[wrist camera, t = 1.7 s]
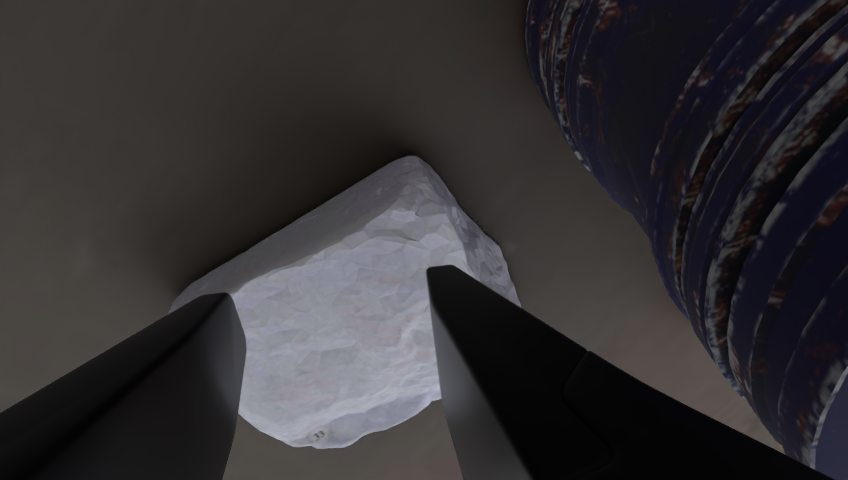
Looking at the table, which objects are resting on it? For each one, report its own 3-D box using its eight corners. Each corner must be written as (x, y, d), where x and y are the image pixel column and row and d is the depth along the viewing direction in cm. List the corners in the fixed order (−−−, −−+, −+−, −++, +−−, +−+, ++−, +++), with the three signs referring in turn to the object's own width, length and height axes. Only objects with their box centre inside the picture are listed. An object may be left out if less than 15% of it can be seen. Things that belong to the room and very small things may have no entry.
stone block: (529, 275, 28) (410, 120, 21) (563, 365, 24) (433, 213, 18) (314, 383, 31) (153, 278, 24) (317, 477, 27) (131, 382, 21)
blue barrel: (853, 48, 22) (1517, 378, 9) (597, 198, 24) (867, 614, 12) (783, -261, 16) (2109, -413, 4) (462, -28, 19) (704, 310, 6)
